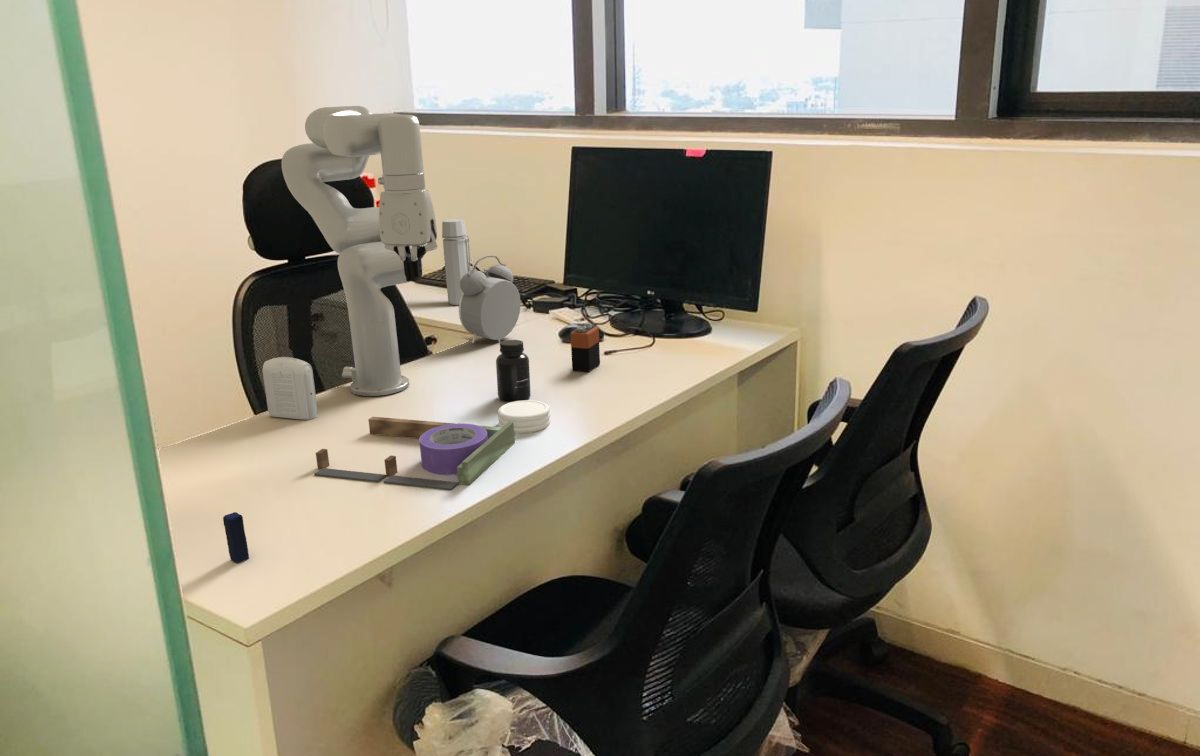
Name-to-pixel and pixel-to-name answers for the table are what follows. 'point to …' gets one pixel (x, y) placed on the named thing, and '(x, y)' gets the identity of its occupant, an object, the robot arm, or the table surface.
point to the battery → (585, 348)
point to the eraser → (236, 537)
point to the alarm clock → (489, 302)
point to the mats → (392, 479)
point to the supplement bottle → (512, 372)
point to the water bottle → (455, 256)
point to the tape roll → (449, 446)
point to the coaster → (525, 415)
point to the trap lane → (471, 466)
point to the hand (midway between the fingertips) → (414, 280)
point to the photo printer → (290, 388)
